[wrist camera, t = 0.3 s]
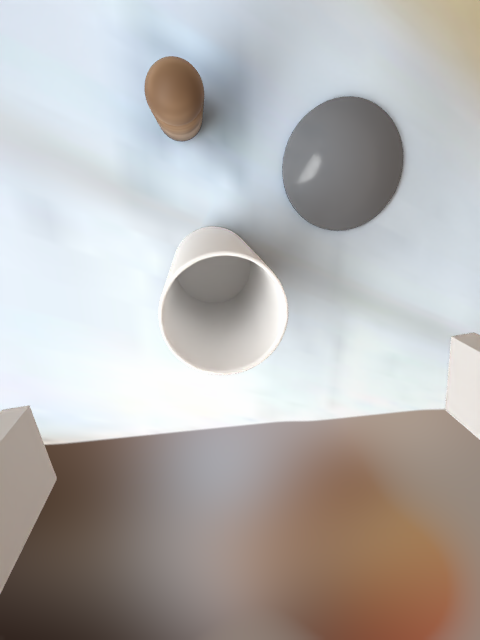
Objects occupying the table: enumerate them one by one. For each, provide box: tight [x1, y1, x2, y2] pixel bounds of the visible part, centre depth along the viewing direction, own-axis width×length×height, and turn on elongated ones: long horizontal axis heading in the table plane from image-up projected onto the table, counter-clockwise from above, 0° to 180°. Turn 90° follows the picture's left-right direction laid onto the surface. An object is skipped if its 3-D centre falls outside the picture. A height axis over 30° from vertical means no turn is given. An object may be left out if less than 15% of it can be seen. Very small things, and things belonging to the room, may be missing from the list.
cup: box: [159, 226, 288, 375], centre depth 30 cm, size 8×8×16 cm
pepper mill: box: [145, 56, 204, 141], centre depth 28 cm, size 4×4×10 cm
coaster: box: [282, 97, 403, 230], centre depth 35 cm, size 12×12×1 cm
